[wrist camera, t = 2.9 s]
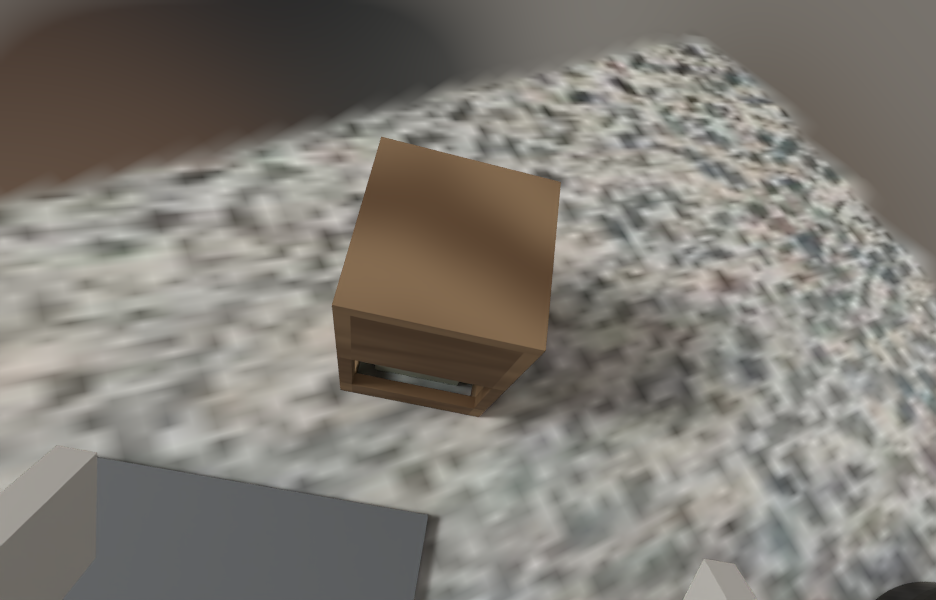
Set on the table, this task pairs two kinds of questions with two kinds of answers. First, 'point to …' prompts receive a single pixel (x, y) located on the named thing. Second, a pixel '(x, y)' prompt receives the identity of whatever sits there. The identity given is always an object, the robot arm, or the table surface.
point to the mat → (242, 542)
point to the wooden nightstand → (446, 277)
